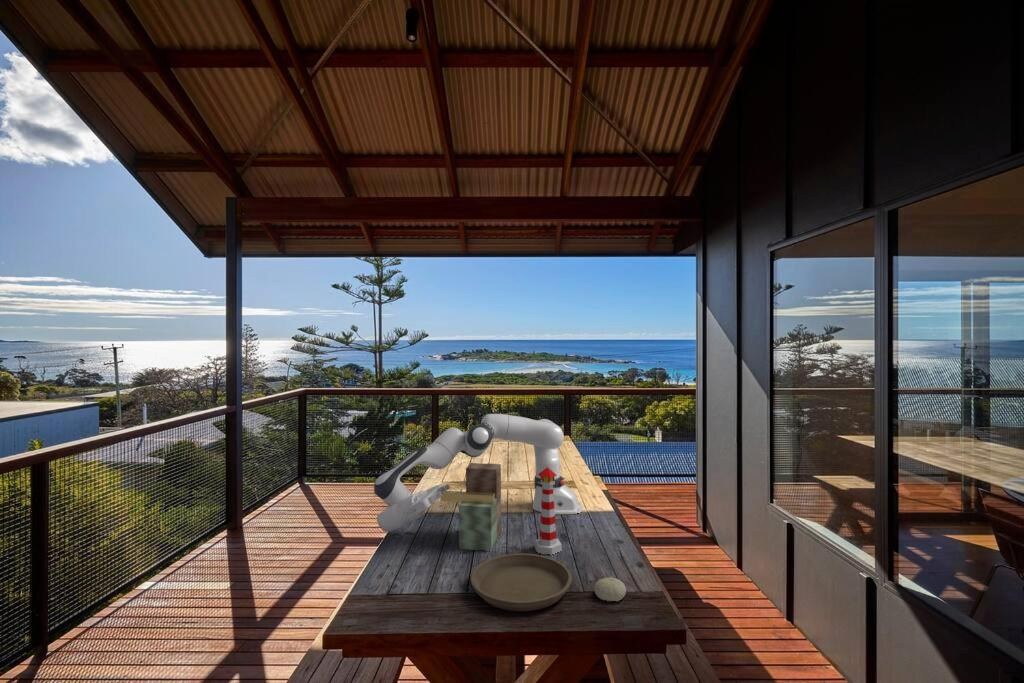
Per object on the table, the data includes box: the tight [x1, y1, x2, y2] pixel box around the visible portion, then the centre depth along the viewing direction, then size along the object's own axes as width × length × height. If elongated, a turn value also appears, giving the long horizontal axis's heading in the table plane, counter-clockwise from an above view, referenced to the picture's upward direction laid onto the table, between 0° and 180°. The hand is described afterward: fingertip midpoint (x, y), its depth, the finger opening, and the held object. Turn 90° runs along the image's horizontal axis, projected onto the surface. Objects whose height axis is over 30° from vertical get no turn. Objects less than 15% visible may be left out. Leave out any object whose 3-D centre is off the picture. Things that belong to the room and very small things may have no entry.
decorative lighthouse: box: [533, 467, 563, 556], centre depth 187 cm, size 10×9×30 cm
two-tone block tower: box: [458, 462, 502, 551], centre depth 196 cm, size 12×18×27 cm, turn 170°
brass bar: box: [440, 490, 495, 504], centre depth 192 cm, size 20×3×3 cm, turn 80°
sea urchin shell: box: [593, 576, 627, 602], centre depth 154 cm, size 9×8×8 cm
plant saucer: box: [470, 553, 573, 612], centre depth 159 cm, size 31×31×5 cm
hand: (445, 489), depth 194 cm, fingers open, 8 cm apart
